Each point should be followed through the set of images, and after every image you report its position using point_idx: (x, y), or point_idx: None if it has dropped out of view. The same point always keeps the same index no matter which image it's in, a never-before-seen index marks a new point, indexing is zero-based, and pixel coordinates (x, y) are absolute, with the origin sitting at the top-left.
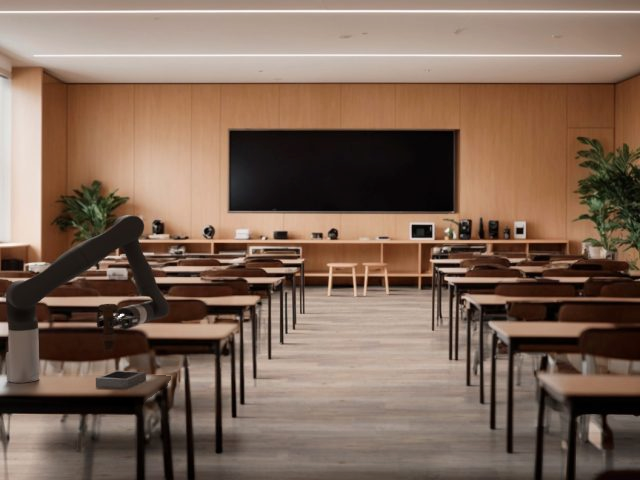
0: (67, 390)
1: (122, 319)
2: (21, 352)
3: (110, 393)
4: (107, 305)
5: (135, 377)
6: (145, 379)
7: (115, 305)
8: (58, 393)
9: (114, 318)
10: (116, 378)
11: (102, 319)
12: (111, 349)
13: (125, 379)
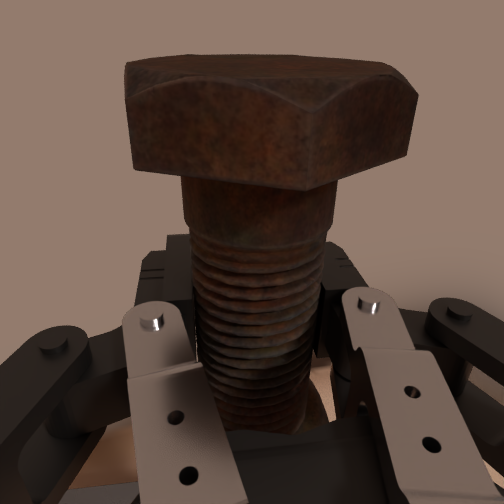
0: (326, 412)
1: (60, 332)
2: None
3: (122, 430)
4: (212, 56)
5: None
6: None
7: (126, 80)
8: (317, 373)
9: (316, 432)
10: (134, 496)
11: (337, 271)
12: None
13: (70, 494)
